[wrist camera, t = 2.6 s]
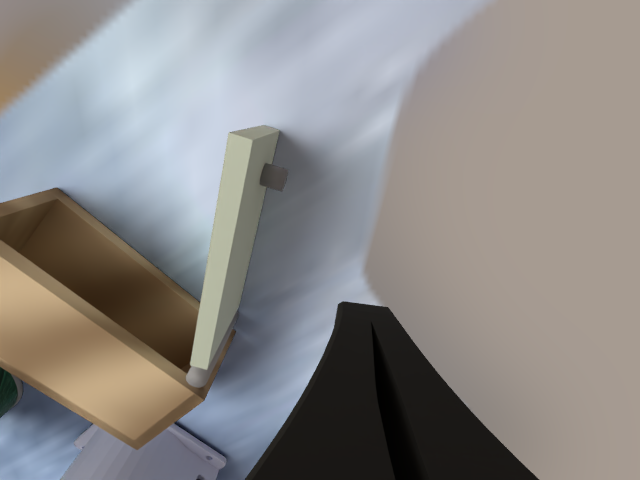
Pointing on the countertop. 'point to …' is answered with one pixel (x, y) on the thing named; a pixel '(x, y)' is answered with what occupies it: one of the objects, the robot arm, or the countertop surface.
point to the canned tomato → (9, 391)
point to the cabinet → (94, 320)
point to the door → (233, 241)
